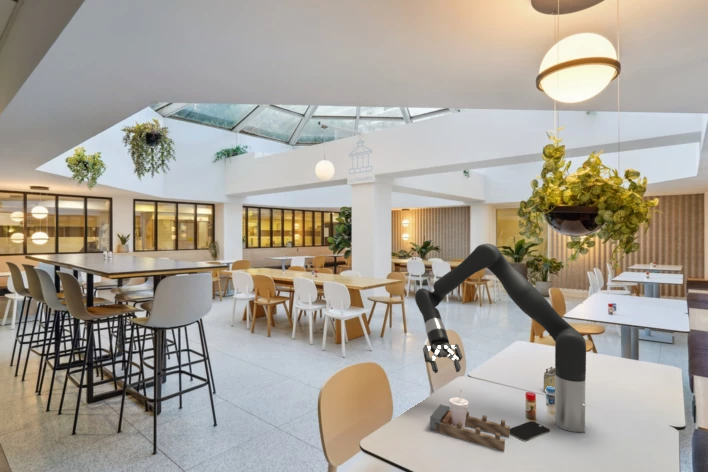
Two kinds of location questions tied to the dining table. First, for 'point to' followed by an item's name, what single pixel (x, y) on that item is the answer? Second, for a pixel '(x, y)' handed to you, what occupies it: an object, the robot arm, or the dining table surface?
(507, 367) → the dining table surface
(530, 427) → the smartphone
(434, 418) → the block
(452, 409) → the smoothie
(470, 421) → the brown pegged rack
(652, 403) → the dining table surface
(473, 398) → the dining table surface
